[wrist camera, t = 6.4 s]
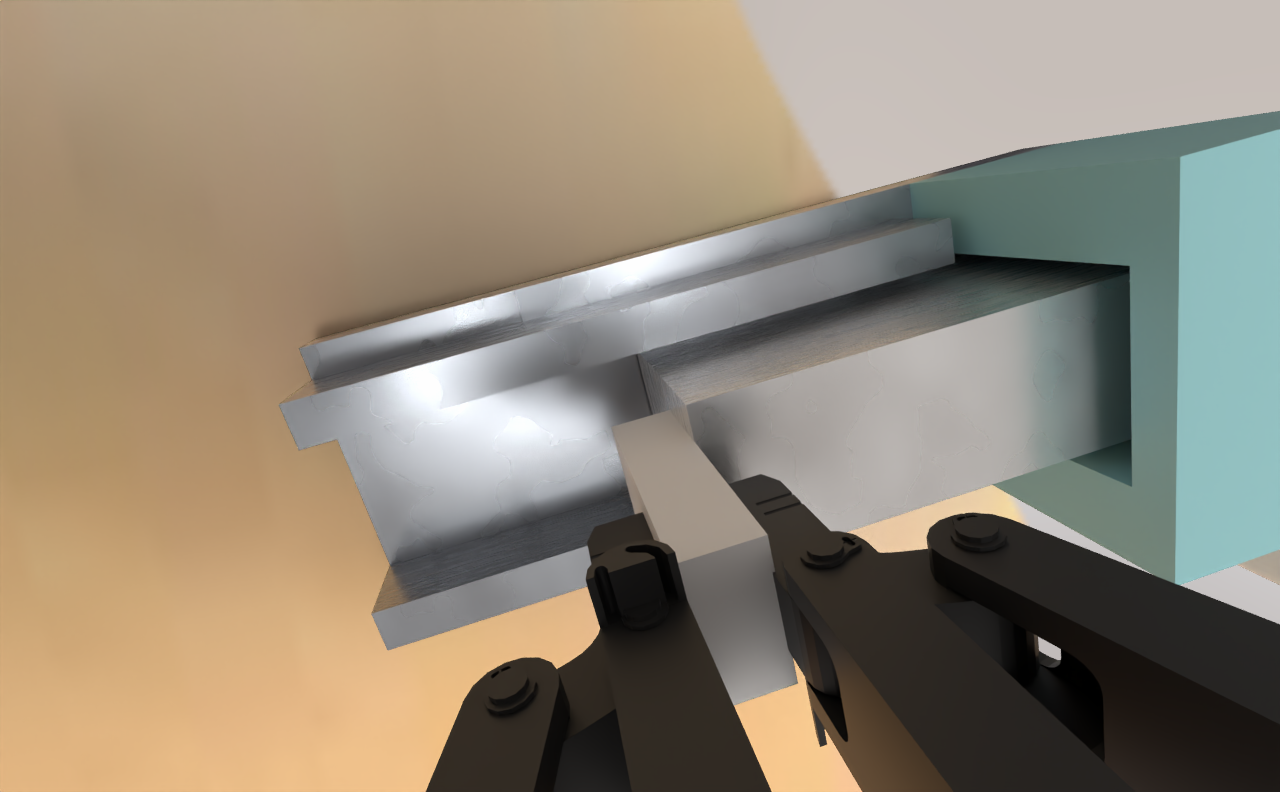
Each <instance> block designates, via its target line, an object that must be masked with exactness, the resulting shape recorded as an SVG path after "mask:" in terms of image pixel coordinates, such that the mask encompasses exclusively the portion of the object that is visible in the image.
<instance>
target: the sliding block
mask: <svg viewBox="0 0 1280 792" xmlns="http://www.w3.org/2000/svg"><path fill="white" fill-rule="evenodd" d="M637 356H638V360H639V364H640V368H641V372H642V376H643V380H644V383H645V387H646V391H647V395H648V399H649V403H650V407H651V411H652V415H654V414H658V413H661V412H665V411H668V410H670V412H671V413H672V414H673V415H674V417H675V418H676V419H677V420H678V422H679V423H680V424H681V425H682V427H683V428H684V429H685V431H686V432H687V433H688V434H689V436H690V437H691V438H692V439H693V441H694V442H695V443H696V444H697V445H698V447H699V448H700V449H701V451H702V452H703V453H704V454H705V456H706V457H707V458H708V459H709V461H710V462H711V463H712V465H713V466H714V467H715V468H716V470H717V471H718V472H719V473H720V475H721V476H722V477H723V479H724V480H725V481H726V482H727V484H730V483H733V482H736V481H739V480H743V479H746V478H749V477H753V476H756V475H759V474H762V475H765V476H768V477H771V478H774V479H777V480H779V481H781V482H782V483H783V484H784V485H785V486H786V487H787V488H788V489H789V490H790V491H791V492H792V495H793V494H794V495H795V496H796V497H797V498H798V499H799V500H800V501H801V503H802V504H804V505H805V506H806V507H807V508H808V509H809V510H810V511H811V512H812V513H813V514H814V515H815V516H816V517H817V518H818V519H819V520H820V521H821V522H822V523H823V524H824V525H825V526H826V527H827V528H828V529H829V530H830V531H841V532H848V531H851V530H855V529H858V528H861V527H864V526H867V525H870V524H873V523H876V522H879V521H882V520H885V519H888V518H891V517H894V516H897V515H900V514H904V513H907V512H910V511H913V510H916V509H919V508H922V507H925V506H928V505H931V504H934V503H937V502H940V501H943V500H946V499H950V498H953V497H956V496H959V495H962V494H965V493H968V492H971V491H974V490H977V489H980V488H983V487H986V486H989V485H992V484H996V483H999V482H1002V481H1005V480H1008V479H1011V478H1014V477H1017V476H1020V475H1023V474H1026V473H1029V472H1032V471H1035V470H1038V469H1041V468H1045V467H1048V466H1051V465H1054V464H1057V463H1060V462H1063V461H1066V460H1069V459H1072V458H1075V457H1078V456H1081V455H1084V454H1087V453H1091V452H1094V451H1097V450H1100V449H1103V448H1106V447H1109V446H1112V445H1115V444H1118V443H1121V442H1124V441H1127V440H1130V439H1132V427H1131V336H1130V266H1126V265H1112V264H1098V263H1084V262H1070V261H1056V260H1042V259H1028V258H1014V257H1000V256H986V255H972V254H966V255H963V256H959V257H956V258H955V263H953V264H949V265H946V266H942V267H939V268H935V269H932V270H928V271H925V272H921V273H918V274H914V275H911V276H907V277H904V278H900V279H897V280H893V281H890V282H886V283H883V284H879V285H876V286H872V287H869V288H865V289H862V290H858V291H855V292H851V293H848V294H844V295H841V296H837V297H834V298H830V299H827V300H823V301H820V302H816V303H813V304H809V305H806V306H802V307H799V308H795V309H792V310H788V311H785V312H781V313H778V314H774V315H771V316H767V317H764V318H760V319H757V320H753V321H750V322H746V323H743V324H739V325H736V326H732V327H729V328H725V329H722V330H718V331H715V332H711V333H708V334H704V335H701V336H697V337H694V338H690V339H687V340H683V341H680V342H676V343H673V344H669V345H666V346H662V347H659V348H655V349H652V350H648V351H645V352H641V353H638V354H637Z"/></svg>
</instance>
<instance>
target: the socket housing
mask: <svg viewBox="0 0 1280 792" xmlns="http://www.w3.org/2000/svg"><path fill="white" fill-rule="evenodd" d="M909 185H910V194H911V203H912V212H913V218H951V226H952V236H953V247H954V253H958V254H972V255H986V256H1000V257H1014V258H1028V259H1042V260H1056V261H1070V262H1084V263H1098V264H1112V265H1126V266H1130V336H1131V427H1132V439H1130V440H1127V441H1124V442H1121V443H1118V444H1115V445H1112V446H1109V447H1106V448H1103V449H1100V450H1097V451H1094V452H1091V453H1087V454H1084V455H1081V456H1078V457H1075V458H1072V459H1069V460H1066V461H1063V462H1060V463H1057V464H1054V465H1051V466H1048V467H1045V468H1041V469H1038V470H1035V471H1032V472H1029V473H1026V474H1023V475H1020V476H1017V477H1014V478H1011V479H1008V480H1005V481H1002V482H999V483H996V484H992V485H994V486H996V487H997V488H999V489H1001V490H1003V491H1004V492H1006V493H1008V494H1010V495H1012V496H1013V497H1015V498H1017V499H1019V500H1021V501H1022V502H1024V503H1026V504H1028V505H1030V506H1032V507H1034V508H1035V509H1037V510H1038V511H1040V512H1042V513H1044V514H1046V515H1047V516H1049V517H1051V518H1053V519H1055V520H1056V521H1058V522H1060V523H1062V524H1064V525H1065V526H1067V527H1069V528H1071V529H1073V530H1074V531H1076V532H1078V533H1080V534H1082V535H1083V536H1085V537H1087V538H1089V539H1090V540H1092V541H1094V542H1096V543H1098V544H1099V545H1101V546H1103V547H1105V548H1107V549H1109V550H1110V551H1112V552H1114V553H1115V554H1117V555H1119V556H1121V557H1123V558H1124V559H1126V560H1128V561H1130V562H1132V563H1133V564H1135V565H1137V566H1139V567H1141V568H1142V569H1144V570H1146V571H1148V572H1149V573H1151V574H1153V575H1155V576H1157V577H1160V578H1162V579H1165V580H1167V581H1170V582H1172V583H1175V584H1177V585H1181V584H1184V583H1187V582H1190V581H1193V580H1196V579H1198V578H1201V577H1204V576H1207V575H1209V574H1212V573H1215V572H1218V571H1220V570H1224V569H1226V568H1229V567H1232V566H1235V565H1238V564H1241V563H1243V562H1246V561H1249V560H1252V559H1255V558H1257V557H1260V556H1263V555H1266V554H1269V553H1271V552H1274V551H1277V550H1280V111H1277V112H1270V113H1263V114H1257V115H1250V116H1243V117H1236V118H1229V119H1222V120H1215V121H1208V122H1202V123H1195V124H1189V125H1181V126H1175V127H1168V128H1161V129H1154V130H1147V131H1140V132H1134V133H1127V134H1121V135H1113V136H1106V137H1100V138H1093V139H1086V140H1079V141H1072V142H1066V143H1059V144H1055V145H1051V146H1048V147H1044V148H1040V149H1037V150H1033V151H1029V152H1025V153H1022V154H1018V155H1014V156H1011V157H1007V158H1003V159H1000V160H996V161H992V162H988V163H985V164H981V165H977V166H974V167H970V168H966V169H962V170H959V171H955V172H951V173H948V174H944V175H940V176H936V177H933V178H929V179H925V180H922V181H918V182H914V183H911V184H909Z"/></svg>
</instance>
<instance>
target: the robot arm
mask: <svg viewBox="0 0 1280 792" xmlns="http://www.w3.org/2000/svg"><path fill="white" fill-rule="evenodd" d="M611 428H612V432H613V435H614V439H615V443H616V447H617V450H618V454H619V458H620V461H621V465H622V469H623V472H624V476H625V480H626V483H627V487H628V491H629V494H630V498H631V502H632V505H633V509H634V513H635V515H631V516H628V517H625V518H621V519H618V520H615V521H612V522H608V523H605V524H602V525H599V526H595V527H594V529H593V531H592V533H591V535H590V537H589V539H588V541H587V545H588V550H589V555H590V559H591V565H590V567H589V568H588V569H587V574H586V583H587V586H588V590H589V593H590V596H591V599H592V603H593V606H594V609H595V612H596V616H597V619H598V622H599V625H600V631H599V634H598V636H597V637H596V639H595V640H594V641H593V643H592V644H591V645H590V646H589V647H588V648H587V649H586V650H585V651H584V652H583V653H582V654H580V655H579V656H577V657H576V658H575V659H573V660H572V661H570V662H569V663H567V664H565V665H563V666H562V667H560V668H558V669H556V668H555V667H554V665H553V664H552V662H549V661H546V660H544V659H541V658H520V659H517V660H513V661H510V662H507V663H504V664H502V665H500V666H499V667H497V668H495V669H493V670H491V671H490V672H488V673H487V674H486V675H484V676H483V677H482V678H481V679H480V680H479V681H478V682H477V683H476V684H475V685H473V687H472V688H471V690H470V692H469V693H468V695H467V696H466V698H465V699H464V701H463V704H462V706H461V708H460V711H459V713H458V716H457V718H456V720H455V723H454V725H453V728H452V730H451V732H450V735H449V737H448V740H447V742H446V744H445V747H444V749H443V752H442V754H441V756H440V759H439V761H438V764H437V766H436V768H435V771H434V773H433V776H432V778H431V780H430V783H429V785H428V788H427V790H426V792H771V789H770V787H769V785H768V782H767V780H766V778H765V776H764V773H763V771H762V769H761V766H760V764H759V762H758V760H757V757H756V755H755V753H754V751H753V748H752V746H751V744H750V741H749V739H748V737H747V735H746V732H745V730H744V728H743V726H742V723H741V721H740V719H739V716H738V714H737V712H736V710H735V707H734V705H736V704H739V703H742V702H745V701H748V700H751V699H754V698H757V697H760V696H763V695H766V694H769V693H771V692H774V691H777V690H780V689H783V688H786V687H789V686H792V685H795V684H798V681H797V676H796V671H795V666H794V662H793V658H794V660H795V661H796V663H797V664H798V666H799V668H800V669H801V671H802V672H803V674H804V676H805V679H806V684H807V689H808V694H809V699H810V704H811V709H812V714H813V719H814V724H815V730H816V734H817V738H818V741H819V744H820V747H821V746H824V745H827V741H826V736H825V731H824V730H825V729H826V731H827V733H828V735H829V736H830V738H831V740H832V741H833V743H834V745H835V746H836V748H837V750H838V751H839V753H840V755H841V756H842V758H843V760H844V761H845V763H846V765H847V767H848V768H849V770H850V772H851V773H852V775H853V777H854V778H855V780H856V782H857V783H858V785H859V787H860V788H861V790H862V792H1280V624H1277V623H1275V622H1272V621H1270V620H1267V619H1265V618H1262V617H1259V616H1257V615H1254V614H1251V613H1249V612H1247V611H1244V610H1241V609H1239V608H1236V607H1234V606H1231V605H1229V604H1226V603H1224V602H1221V601H1218V600H1216V599H1213V598H1211V597H1208V596H1206V595H1203V594H1200V593H1198V592H1195V591H1193V590H1190V589H1188V588H1185V587H1183V586H1180V585H1177V584H1175V583H1172V582H1170V581H1167V580H1165V579H1162V578H1160V577H1157V576H1154V575H1152V574H1149V573H1147V572H1144V571H1142V570H1139V569H1137V568H1134V567H1131V566H1129V565H1126V564H1124V563H1121V562H1118V561H1116V560H1113V559H1111V558H1108V557H1106V556H1103V555H1101V554H1098V553H1096V552H1093V551H1090V550H1088V549H1085V548H1082V547H1080V546H1078V545H1075V544H1073V543H1070V542H1067V541H1065V540H1062V539H1060V538H1057V537H1055V536H1052V535H1050V534H1047V533H1044V532H1041V531H1039V530H1037V529H1034V528H1032V527H1029V526H1027V525H1024V524H1021V523H1019V522H1016V521H1014V520H1011V519H1008V518H1004V517H1000V516H997V515H993V514H980V513H965V514H958V515H953V516H950V517H948V518H945V519H942V520H939V521H938V522H937V523H936V524H934V525H933V526H932V527H931V528H930V529H929V532H928V535H927V545H928V549H923V550H914V551H904V552H892V553H878V552H877V551H876V550H875V549H874V548H873V547H872V546H871V545H870V544H869V543H868V542H866V541H865V540H863V539H861V538H860V537H858V536H856V535H854V534H850V533H846V532H841V531H830V530H829V529H828V528H827V527H826V526H825V525H824V524H823V523H822V522H821V521H820V520H819V519H818V518H817V517H816V516H815V515H814V514H813V513H812V512H811V511H810V510H809V509H808V508H807V507H806V506H805V505H804V504H802V503H801V501H800V500H799V499H798V498H797V497H796V496H795V495H794V494H793V495H792V492H791V491H790V490H789V489H788V488H787V487H786V486H785V485H784V484H783V483H782V482H781V481H779V480H777V479H774V478H771V477H768V476H765V475H762V474H759V475H756V476H753V477H749V478H746V479H743V480H739V481H736V482H733V483H730V484H727V482H726V481H725V480H724V479H723V477H722V476H721V475H720V473H719V472H718V471H717V470H716V468H715V467H714V466H713V465H712V463H711V462H710V461H709V459H708V458H707V457H706V456H705V454H704V453H703V452H702V451H701V449H700V448H699V447H698V445H697V444H696V443H695V442H694V441H693V439H692V438H691V437H690V436H689V434H688V433H687V432H686V431H685V429H684V428H683V427H682V425H681V424H680V423H679V422H678V420H677V419H676V418H675V417H674V415H673V414H672V413H671V412H670V410H668V411H665V412H661V413H658V414H654V415H651V416H647V417H644V418H640V419H637V420H634V421H630V422H627V423H623V424H620V425H616V426H613V427H611ZM1038 637H1040V638H1042V639H1044V640H1046V641H1047V642H1049V643H1051V644H1053V645H1055V646H1057V647H1058V648H1060V649H1061V660H1056V659H1054V658H1051V657H1049V656H1047V655H1045V654H1043V653H1042V652H1040V651H1039V646H1038ZM792 656H793V657H792Z"/></svg>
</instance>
